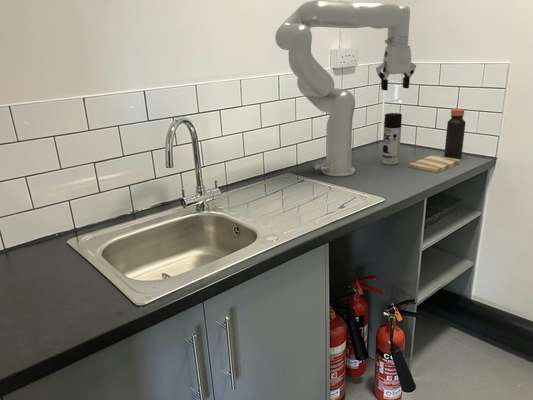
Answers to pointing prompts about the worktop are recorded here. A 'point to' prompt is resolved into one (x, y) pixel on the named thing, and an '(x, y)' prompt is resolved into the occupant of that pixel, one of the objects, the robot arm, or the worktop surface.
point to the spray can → (391, 138)
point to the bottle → (455, 134)
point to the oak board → (434, 163)
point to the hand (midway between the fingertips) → (395, 89)
